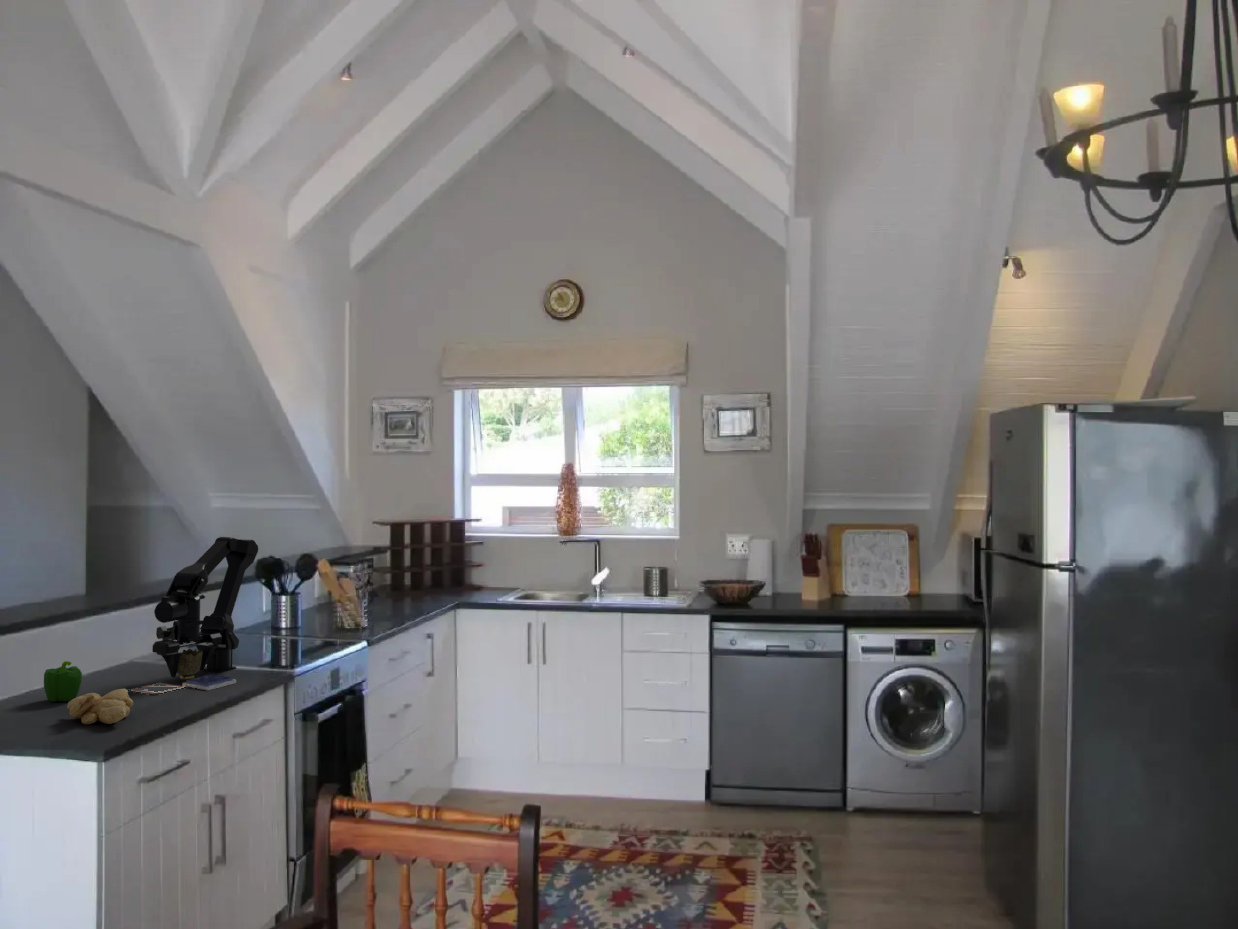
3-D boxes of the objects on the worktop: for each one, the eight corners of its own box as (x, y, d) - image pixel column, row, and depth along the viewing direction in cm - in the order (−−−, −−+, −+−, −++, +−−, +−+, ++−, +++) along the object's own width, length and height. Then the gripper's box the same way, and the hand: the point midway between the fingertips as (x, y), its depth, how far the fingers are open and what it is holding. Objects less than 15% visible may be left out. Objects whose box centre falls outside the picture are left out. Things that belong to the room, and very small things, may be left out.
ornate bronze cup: (194, 676, 267) (194, 647, 267) (207, 680, 262) (207, 651, 262) (167, 680, 261) (168, 651, 261) (180, 684, 257) (180, 655, 257)
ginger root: (78, 705, 228) (86, 673, 228) (144, 721, 230) (152, 689, 229) (42, 726, 213) (51, 691, 213) (113, 742, 214) (122, 708, 214)
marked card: (159, 683, 257) (159, 682, 257) (186, 687, 253) (186, 686, 253) (127, 691, 249) (127, 689, 249) (155, 695, 245) (155, 694, 245)
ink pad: (211, 679, 263) (211, 673, 263) (236, 683, 260) (236, 677, 260) (182, 686, 255) (182, 680, 255) (207, 690, 251) (207, 684, 251)
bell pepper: (40, 699, 239) (41, 659, 239) (77, 694, 244) (78, 655, 244) (46, 706, 232) (47, 665, 232) (84, 701, 238) (85, 661, 238)
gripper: (195, 610, 274) (194, 664, 274) (138, 619, 257) (137, 677, 257) (223, 613, 269) (222, 668, 269) (168, 623, 252) (166, 682, 252)
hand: (187, 674), depth 262 cm, fingers open, 9 cm apart
